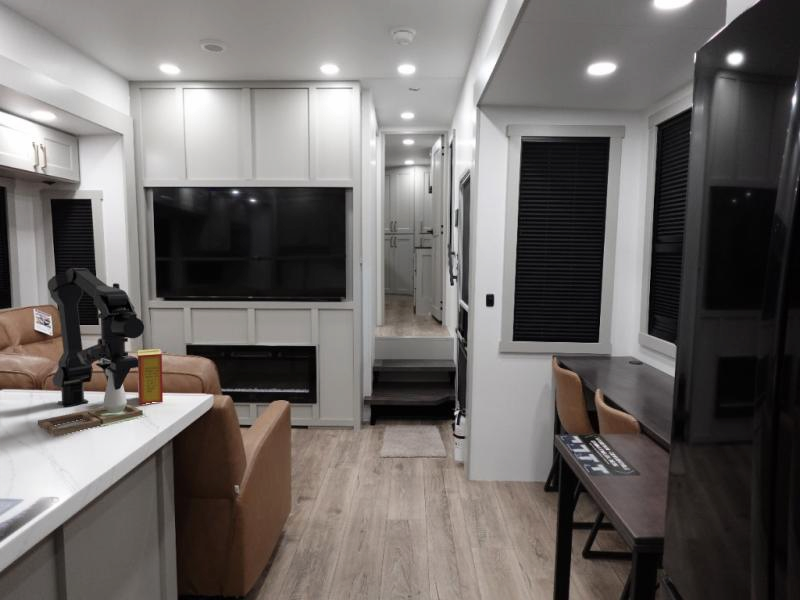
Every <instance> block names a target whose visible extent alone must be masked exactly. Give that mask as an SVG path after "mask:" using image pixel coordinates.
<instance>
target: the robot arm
mask: <svg viewBox="0 0 800 600" xmlns="http://www.w3.org/2000/svg"><path fill="white" fill-rule="evenodd" d="M47 288H48V291H49V295H50V297H51V299H52V300H53V301H54V302H55V304H56V305H57V307H58V314H59V323H60V331H61V332H60V333H61V340H62V349H63V350H62V351H63V353H62V354H61V356H60V359H59V360H58V363H57V365H58V366H57V370H56V371H55V373H54V375H53V377H52V383H53V386H54V387H58V388H61V391H60V392H61V400H58V401H57V404H58V405H61V406H62V407H65V408H66V407H67V408H68V407H72V406H78V405H81V404H87V403H89V400H88V399H85V392H84V391H85V390H84V385H85V384H84V383H91V381H92V376H93V371H94V367H93V364H94V363H95V362H97V363H95V365H96V366H97V367H98V368H100V369H102V371H103V374H104V376H105V379H106V381H107V382H108V376H107V375H106V372H105V371H106V369H107V370H109V371H110V372H111V373H112V377H113V382H114V387H115V390H118V389H120V388H121V386H122V384H123V385H124V381H125V379H126V378H127V376H128V374H129V372H130V371H131V369H135V368H138V367H140V365H139V359H138V357H137V356H134V355H129V352H128V351H126V343H127V342H129V339H137V338H139V337H141V336H142V334H143V332H144V331H145V330H144V329H145V325H144V323H143V321H142V320H141V319H140V318H139V317H137V313H136V311H135V307H134V305H133V303H132V302H131V299H130V297H129V295H128V294H127V292H126V291H125V290H123V289H121V288H119V287H114V286H110V285H107V284H106V283H105V282H103V281H102V280H101V279H99V278H98V277H97V276H95V275H94V274H93V273H92V272H91V271H90V269H88V268H87V267H86V268H85V267H83V268H82V267H80V268H79V267H71V268H69V269H67V270H66V271H64V272H61V273H58V274H56V275H54V276H52V277H51V278H50V279H48V282H47ZM83 291H84V292H85V293H86V294H88V295H89V296H90V297H92V298H93V305H94V306H95V307H96V309H98V311H99V312H100V313H99V314H98V315H97V318H98V319H100V328H101V329H100V332H101V335H100V338H98V339H97V344H94V345H92V346H90V347H86V348H84V349H83V342H82V333H81V325H80V315H79V306H78V304H79V302H80V300H81V298H82V296H83ZM110 366H111V367H110ZM107 367H109V368H107Z"/></svg>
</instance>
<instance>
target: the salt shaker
mask: <svg viewBox="0 0 800 600" xmlns="http://www.w3.org/2000/svg"><path fill="white" fill-rule="evenodd" d="M110 367H111V366H110ZM107 368H109V367H107ZM105 372H106V375H107V376H108V382H107V383H106V388H105V392H104V397H103V401H102V402H103V403H102V404H103V406H102V407H104V408H105V409H106V411H107V413H118V412H121V411H123V410H124V408H125V406H126V404H128V402H127V396H126V392H125V388H124V383H123V384H122V386H121V388H120V389H118V390H115V387H114V382H113V377H112V373H111V372H110V371H109V370H107V369H106V371H105Z"/></svg>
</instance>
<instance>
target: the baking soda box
mask: <svg viewBox="0 0 800 600" xmlns="http://www.w3.org/2000/svg"><path fill="white" fill-rule="evenodd" d="M136 351H137V355H136V356H137V359H139V365H140V367H137V383H138V384H137V388H138V391H137V392H138V405H139V406H143V405H142V404H146V403H152V402H163V403H164V401H163V400H164V399H163V398H164V397H163V396H164V395H163V393H164V392H163V357H162V356H163V355H162V351H161V349H160V348H151V349H150V348H149V349H139V350H136Z"/></svg>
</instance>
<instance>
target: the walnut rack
mask: <svg viewBox="0 0 800 600" xmlns="http://www.w3.org/2000/svg"><path fill="white" fill-rule="evenodd" d="M124 410H126V411H129V413H125V414H120V415H116V416H111V417H107V418H106V417H104V416H102V414H106V413H107V411H106V409H105V408H104V406H100V407H97V408H91V409H86V410H81V411H78V412H71V413H68V414H63V415H59V416H54V417H48V418H44V419H43V418H42V419H38V420H37V426H39V427H40V428H42V429H43V428H44V429H43V430H45V431H46V430H47V431H46V432H48V433H49V432H50V433H49V434H51V435H52V434H53V435H52V436H54V437H55V438H57V437H61V436H64V434H65V435H69V434H68V433H70V434H73V433H72V432H74V433H76V431H78V432H81V431H80V430H82V431H85V430H84V429H86V430H89V429H88V428H91V429H94V428H93V427H95V428H98V427H97V426H99V427H100V425H101V424H107V423H111V422H116V421H120V420H124V419H128V418H133V417H137V416H141V415H143V413H144V412H143V410H142V409H140V408H138V407H135V406H133V405H131V404H128V403H127V404H126V406H125V408H124ZM80 419H83V420H82V421H84V420H85V421H84V422H82V423H78V424H71V425H67V426H64V427H63V426H62V427H60V428H59V427H57V426H59V425H58V424H61V425H64V424H63V423H66V424H68V423H67V422H70V423H73V422H72V421H75V422H77V421H76V420H79V421H81V420H80ZM86 421H87V422H86ZM55 425H57V426H55ZM60 435H61V436H60ZM56 436H57V437H56Z"/></svg>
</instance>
